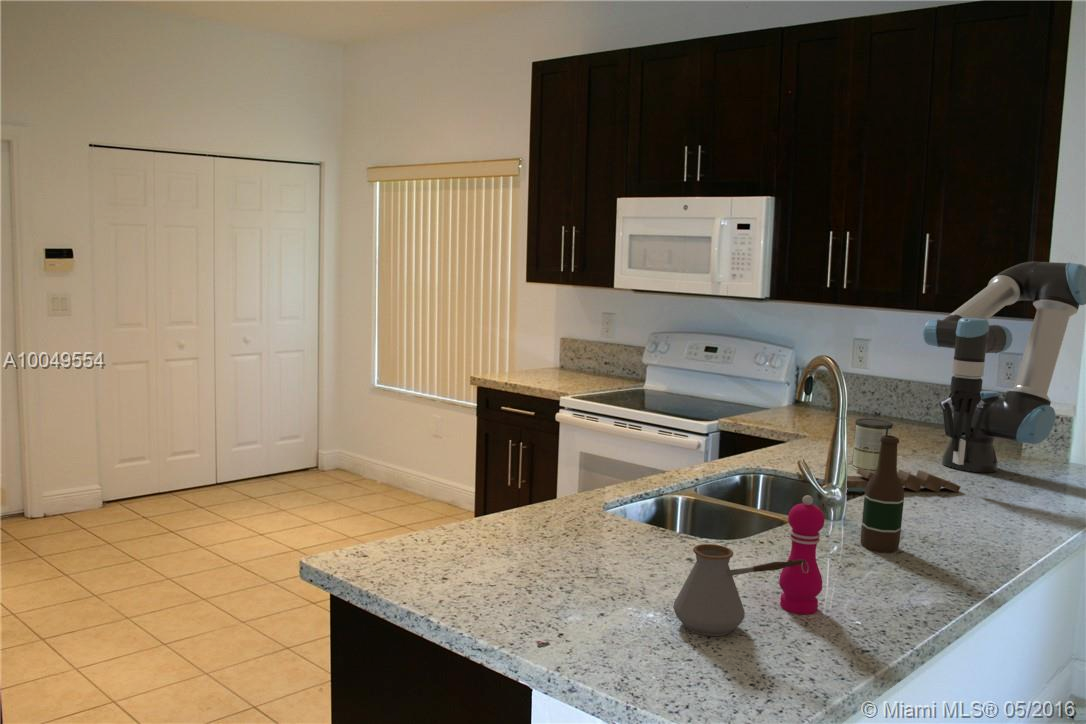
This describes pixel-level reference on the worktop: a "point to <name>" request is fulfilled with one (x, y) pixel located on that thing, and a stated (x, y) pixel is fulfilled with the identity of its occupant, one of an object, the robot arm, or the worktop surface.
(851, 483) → the domino
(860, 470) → the domino
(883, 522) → the beer bottle
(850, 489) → the domino
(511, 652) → the worktop surface
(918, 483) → the domino
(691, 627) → the coffee pot
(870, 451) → the coffee can
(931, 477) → the domino
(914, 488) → the domino
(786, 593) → the pepper mill
